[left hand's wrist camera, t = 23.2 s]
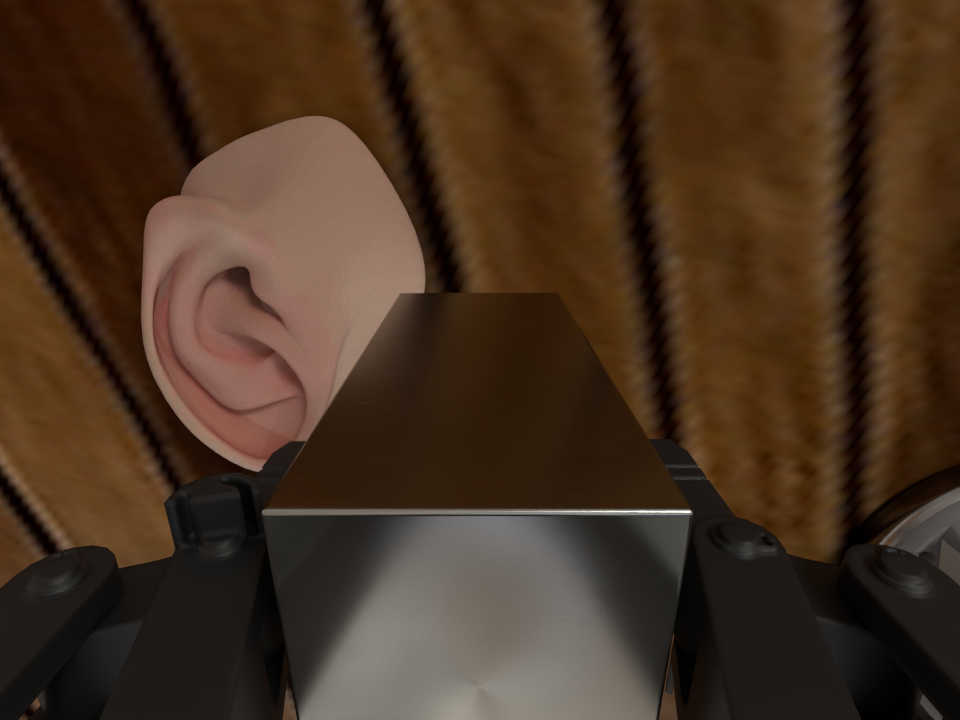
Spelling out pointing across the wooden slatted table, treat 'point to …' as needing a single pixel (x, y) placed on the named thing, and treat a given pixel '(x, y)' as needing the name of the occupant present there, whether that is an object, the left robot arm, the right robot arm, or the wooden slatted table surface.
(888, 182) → the wooden slatted table surface
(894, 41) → the wooden slatted table surface
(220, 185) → the anatomical model
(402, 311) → the block
